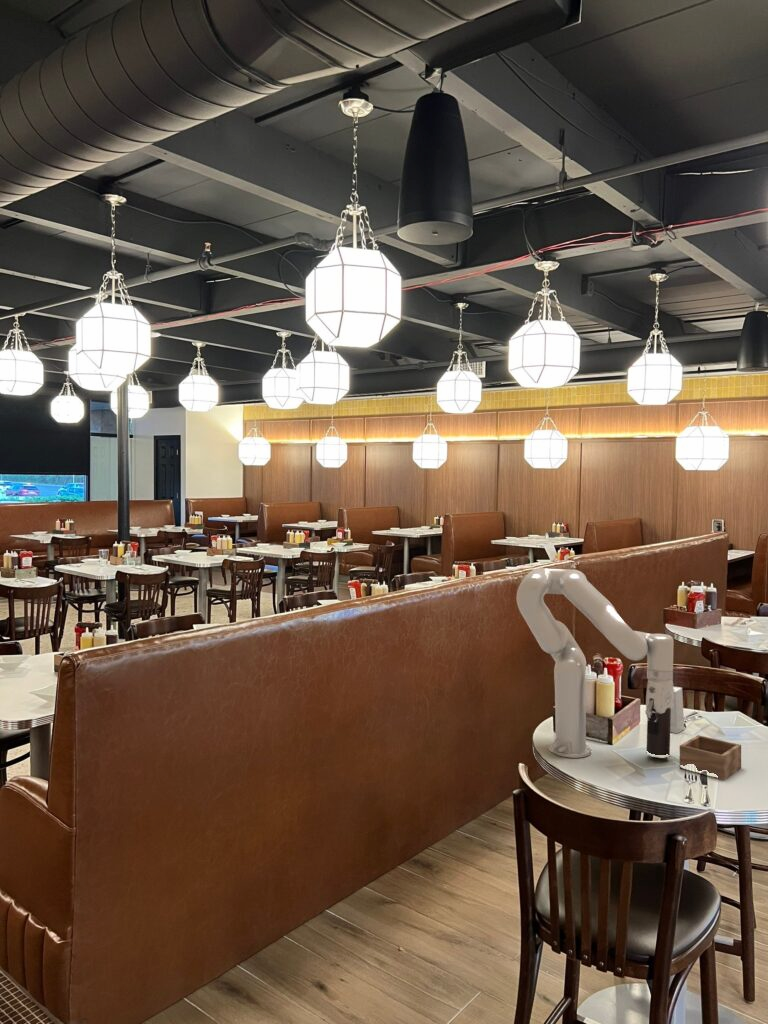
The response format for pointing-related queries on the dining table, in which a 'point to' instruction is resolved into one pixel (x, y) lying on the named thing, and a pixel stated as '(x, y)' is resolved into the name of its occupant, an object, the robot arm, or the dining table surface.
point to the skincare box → (677, 712)
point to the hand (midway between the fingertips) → (658, 730)
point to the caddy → (711, 756)
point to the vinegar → (660, 735)
